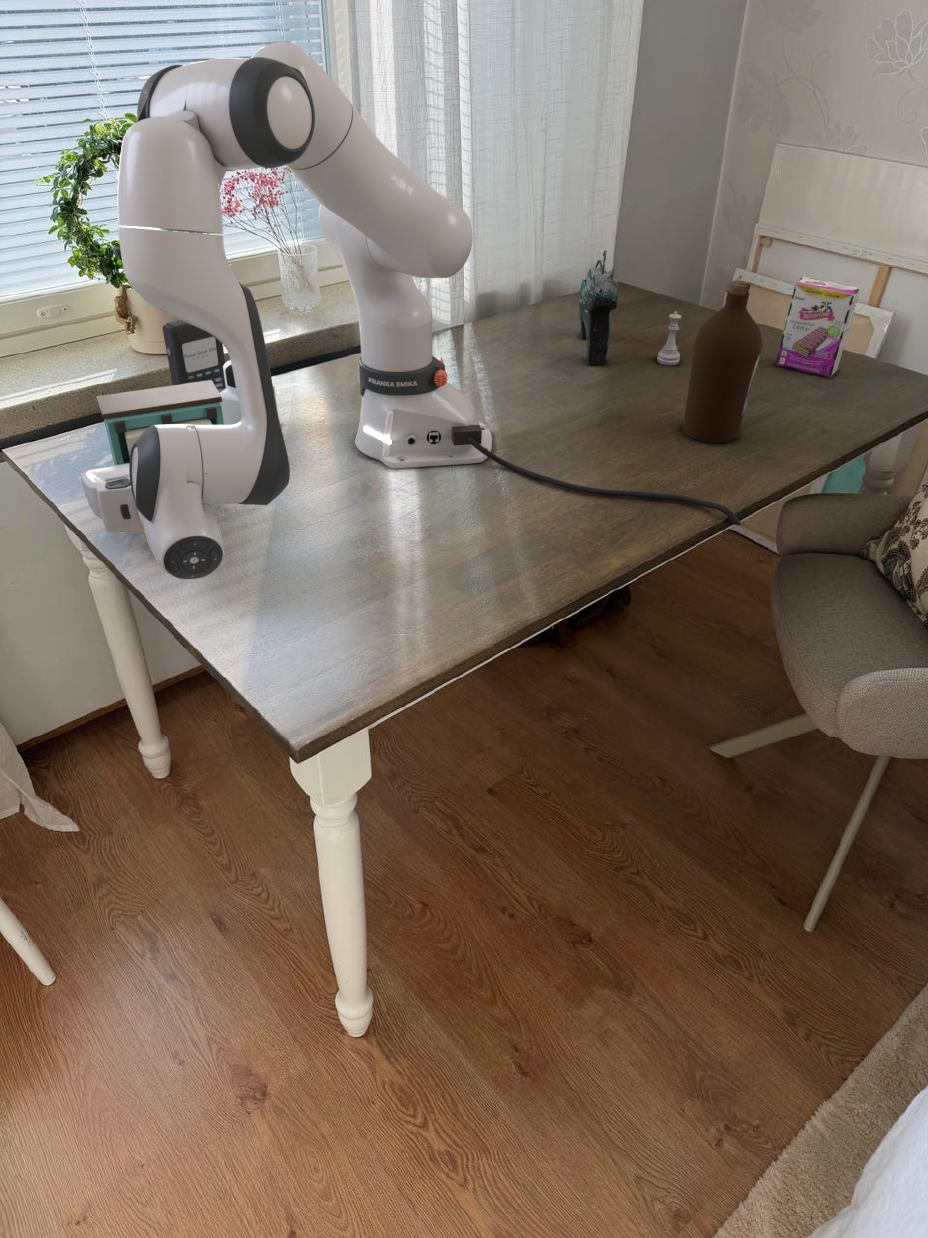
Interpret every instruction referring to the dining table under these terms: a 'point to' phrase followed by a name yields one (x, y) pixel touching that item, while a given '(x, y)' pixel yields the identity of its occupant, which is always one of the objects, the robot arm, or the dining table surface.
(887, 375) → the dining table surface
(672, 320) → the chess piece
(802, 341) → the candy bar box
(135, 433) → the piano key left
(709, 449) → the dining table surface
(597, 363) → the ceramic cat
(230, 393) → the medicine bottle
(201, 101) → the robot arm
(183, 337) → the card reader
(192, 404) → the toy piano
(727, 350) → the olive oil
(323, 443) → the dining table surface
